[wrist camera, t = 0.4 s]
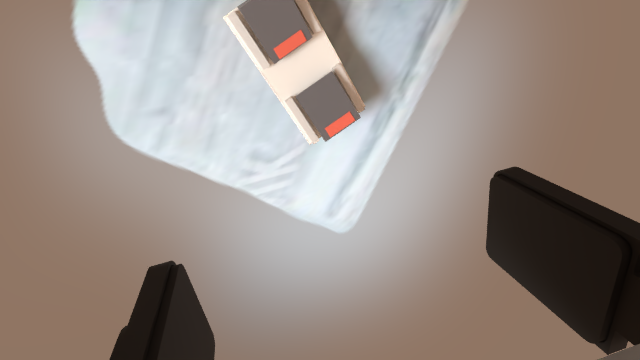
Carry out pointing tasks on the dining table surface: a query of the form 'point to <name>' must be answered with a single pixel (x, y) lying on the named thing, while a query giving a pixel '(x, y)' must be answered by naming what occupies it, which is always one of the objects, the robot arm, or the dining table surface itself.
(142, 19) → the dining table surface
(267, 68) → the rocker switch panel
